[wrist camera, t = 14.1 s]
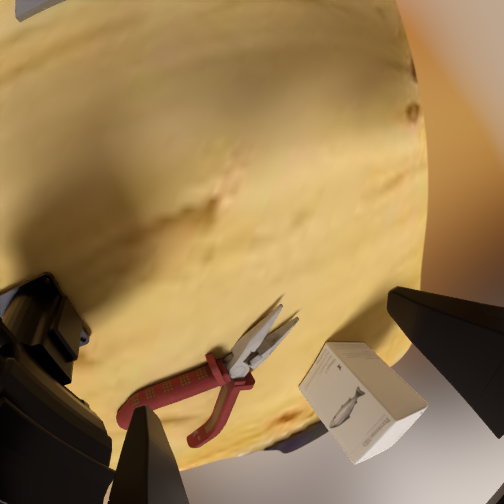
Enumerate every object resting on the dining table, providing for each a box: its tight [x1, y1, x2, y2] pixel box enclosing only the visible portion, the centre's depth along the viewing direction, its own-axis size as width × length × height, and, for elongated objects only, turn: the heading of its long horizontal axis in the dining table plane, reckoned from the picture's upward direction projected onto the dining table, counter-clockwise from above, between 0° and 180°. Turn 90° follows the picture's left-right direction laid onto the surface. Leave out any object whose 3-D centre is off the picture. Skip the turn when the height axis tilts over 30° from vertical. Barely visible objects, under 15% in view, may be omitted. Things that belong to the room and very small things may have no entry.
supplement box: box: [298, 342, 429, 464], centre depth 27 cm, size 7×7×13 cm
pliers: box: [116, 304, 299, 448], centre depth 25 cm, size 12×20×3 cm, turn 133°
